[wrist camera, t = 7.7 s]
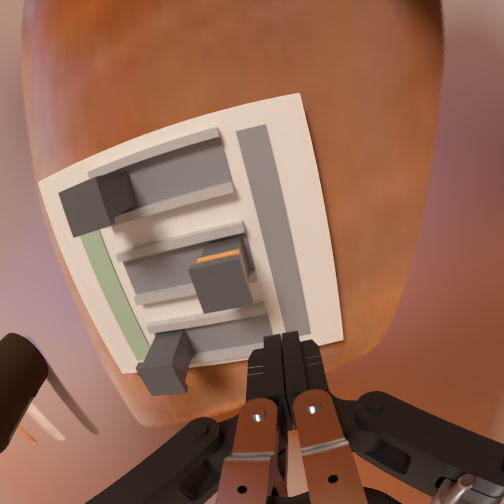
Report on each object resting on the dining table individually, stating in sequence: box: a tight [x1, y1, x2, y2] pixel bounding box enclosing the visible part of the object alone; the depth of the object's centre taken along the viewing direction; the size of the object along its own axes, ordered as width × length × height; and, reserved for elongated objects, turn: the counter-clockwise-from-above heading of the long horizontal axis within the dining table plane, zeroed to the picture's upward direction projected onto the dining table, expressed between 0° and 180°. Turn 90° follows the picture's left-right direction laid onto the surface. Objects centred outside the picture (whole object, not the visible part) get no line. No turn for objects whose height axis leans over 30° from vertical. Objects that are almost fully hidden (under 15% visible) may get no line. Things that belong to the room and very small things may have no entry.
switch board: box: [38, 93, 344, 396], centre depth 25 cm, size 26×24×8 cm
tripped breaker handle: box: [188, 236, 252, 314], centre depth 24 cm, size 4×4×6 cm
